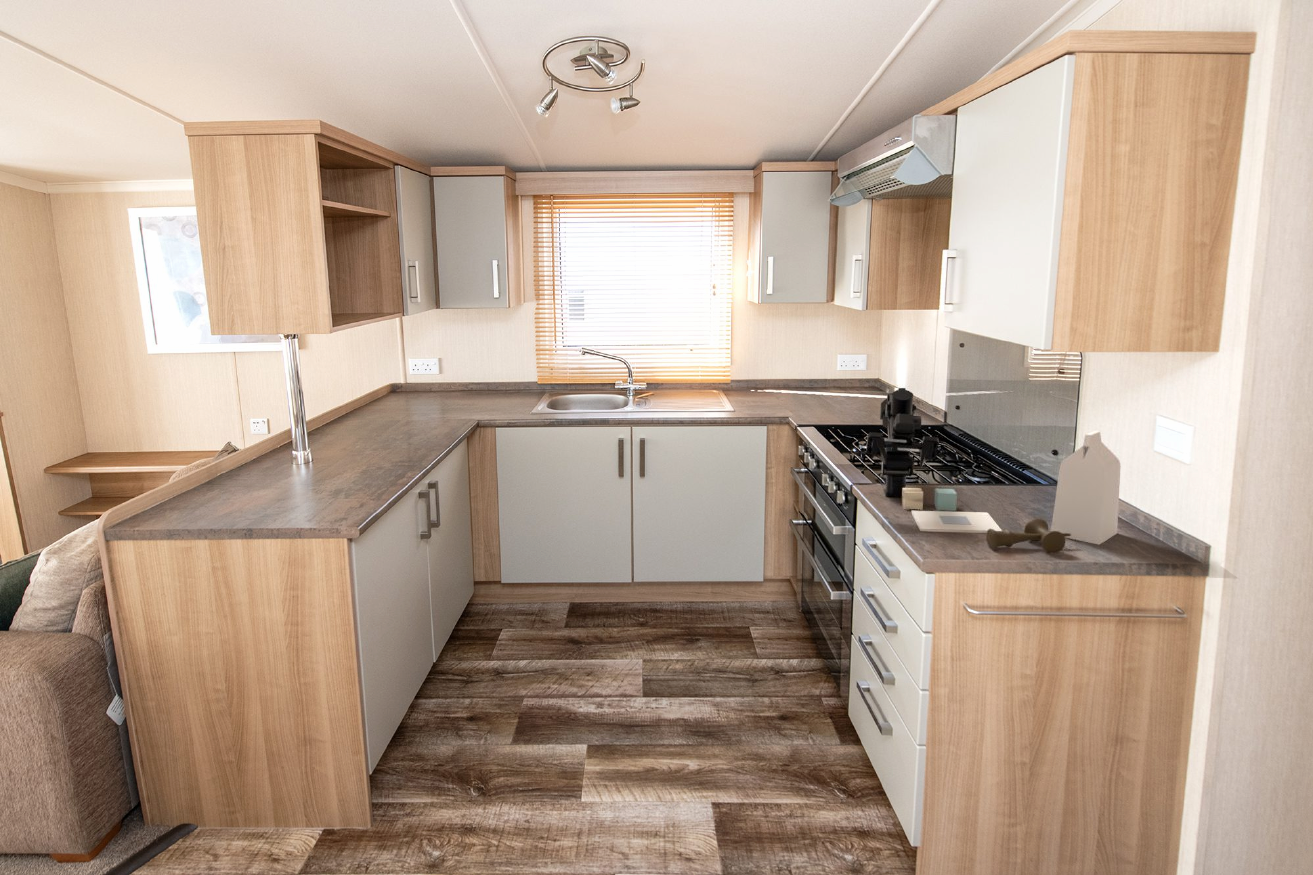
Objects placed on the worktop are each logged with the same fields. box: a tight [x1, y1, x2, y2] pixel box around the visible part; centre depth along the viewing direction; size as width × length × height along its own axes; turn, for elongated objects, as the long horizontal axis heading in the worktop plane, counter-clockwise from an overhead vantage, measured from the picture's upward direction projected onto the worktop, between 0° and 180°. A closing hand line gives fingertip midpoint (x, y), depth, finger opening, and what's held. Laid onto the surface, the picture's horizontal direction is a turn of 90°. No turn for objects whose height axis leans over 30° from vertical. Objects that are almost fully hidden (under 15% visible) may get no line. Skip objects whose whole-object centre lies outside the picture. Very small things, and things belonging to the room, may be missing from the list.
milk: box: [1050, 430, 1121, 545], centre depth 201 cm, size 12×12×26 cm
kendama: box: [985, 518, 1071, 554], centre depth 194 cm, size 6×10×20 cm
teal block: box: [933, 488, 958, 512], centre depth 227 cm, size 5×5×5 cm
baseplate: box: [911, 510, 1003, 534], centre depth 214 cm, size 16×20×1 cm
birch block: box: [901, 487, 924, 511], centre depth 228 cm, size 5×5×5 cm
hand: (903, 464), depth 215 cm, fingers open, 9 cm apart
